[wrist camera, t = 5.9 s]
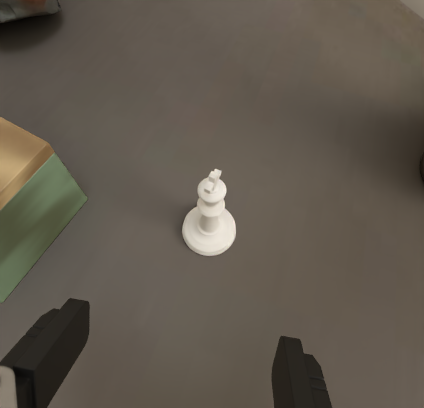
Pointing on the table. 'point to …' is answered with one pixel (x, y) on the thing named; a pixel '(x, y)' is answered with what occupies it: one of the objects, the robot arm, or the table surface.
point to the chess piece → (209, 219)
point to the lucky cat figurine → (26, 9)
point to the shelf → (30, 202)
